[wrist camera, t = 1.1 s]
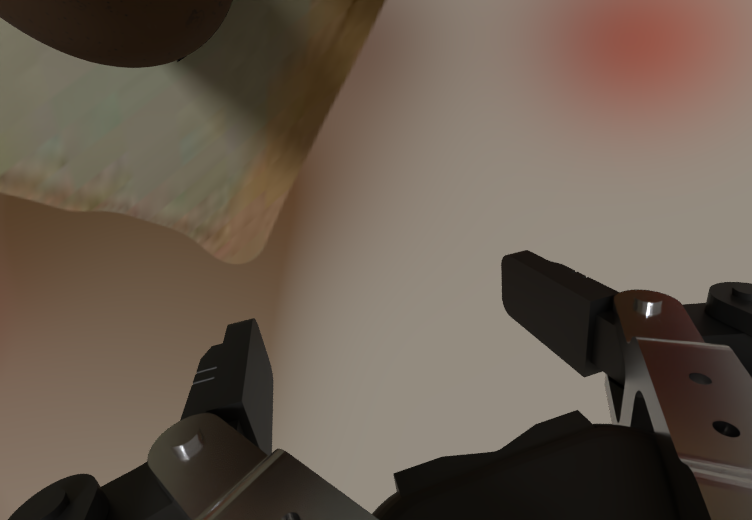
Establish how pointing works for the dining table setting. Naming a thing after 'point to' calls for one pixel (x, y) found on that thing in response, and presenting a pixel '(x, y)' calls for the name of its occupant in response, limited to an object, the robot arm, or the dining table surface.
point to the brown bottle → (119, 27)
